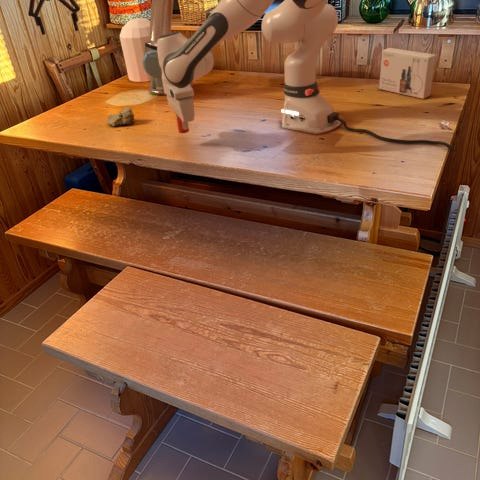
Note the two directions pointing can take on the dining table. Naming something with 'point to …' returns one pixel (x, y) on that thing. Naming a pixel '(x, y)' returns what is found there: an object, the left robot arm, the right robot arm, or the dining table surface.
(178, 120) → the can
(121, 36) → the container
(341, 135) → the dining table surface
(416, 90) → the skincare box
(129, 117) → the rock
